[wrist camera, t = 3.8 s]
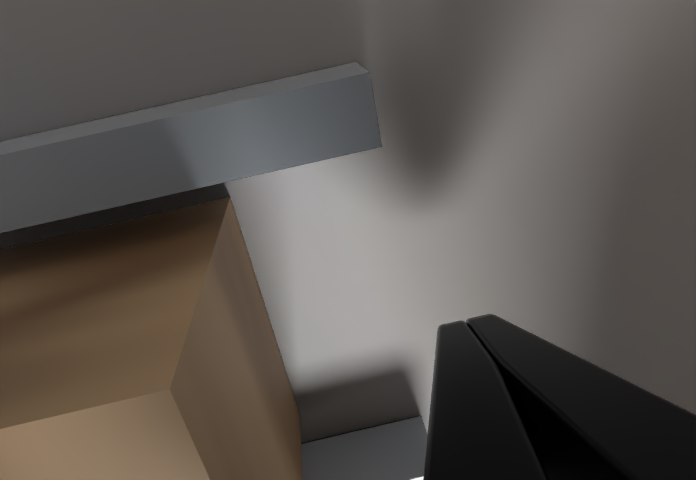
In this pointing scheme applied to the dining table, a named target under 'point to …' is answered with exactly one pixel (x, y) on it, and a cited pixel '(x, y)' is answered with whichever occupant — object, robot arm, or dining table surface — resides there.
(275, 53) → the dining table surface
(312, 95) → the channel
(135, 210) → the dining table surface
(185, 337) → the tan block
